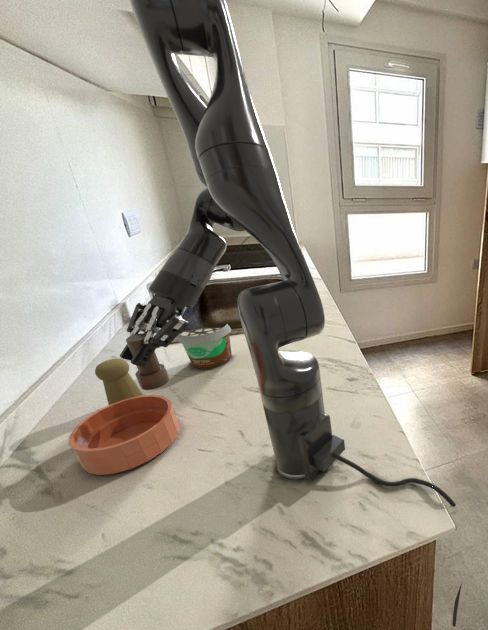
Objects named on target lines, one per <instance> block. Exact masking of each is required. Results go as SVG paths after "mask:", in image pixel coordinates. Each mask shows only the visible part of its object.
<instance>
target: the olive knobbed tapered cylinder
mask: <svg viewBox="0 0 488 630" xmlns="http://www.w3.org/2000/svg"><path fill="white" fill-rule="evenodd" d="M129 372H130V364H129V362H128V361H127V360H126V359H123V358H121V357H118V358H117V357H116V358H110V359H107V360H104V361H102V362H100V363H99V364H97V365H96V366H95V370H94V374H95V376H96V377H97V379H98V380H101V381H102V384H103V387H104V392H105V396H106V400H107V404H108V405H111V404H113V403H116V402H119V401H121V400H124V399H127V398H132V397H137V396H141V395H144V394H143V392H142V390H141V388H139V386H138V385H137V384H136V382H135V380H134V379H133V377H132V376H131V374H130V373H129Z"/></svg>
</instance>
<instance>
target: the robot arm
mask: <svg viewBox="0 0 488 630" xmlns="http://www.w3.org/2000/svg"><path fill="white" fill-rule="evenodd" d="M129 3H130V6H131V9H132V12H133V15H134V18H135V20H136V23H137V26H138V28H139V32H140V34H141V36H142V39H143V42H144V44H145V47H146V49H147V51H148V54H149V56H150V58H151V61H152V64H153V66H154V68H155V71H156V73H157V75H158V78H159V80H160V83H161V85H162V87H163V90H164V93H165V94H166V97H167V99H168V101H169V103H170V106H171V109H172V110H173V112H174V115H175V117H176V119H177V121H178V124H179V126H180V128H181V131H182V133H183V137H184V139H185V141H186V144H187V149H188V151H189V155H190V159H191V161H192V165H193V168H194V171H195V174H196V177H197V179H198V181H199V182H200V183H201V184H202V185H203V186H205V188H204V189H202V190H201V191H200V192H199V193H198V195H197V196H196V199H195V202H194V205H193V210H192V214H191V218H190V222H189V224H188V228H187V231H186V233H185V235H184V236H183V238H182V239H181V241H180V242H179V244H178V245H177V247H176V248H175V250H174V251H173V252H172V253H171V254H170V255H169V257H168V258H167V259H166V261H165V263H164V264H163V265H162V267H161V269H160V270H159V272H158V273H157V274H156V276H155V278H154V279H153V281H152V282H151V284H150V285H149V287H148V291H149V292H150V293H152V294H154V296H153V297H152V298H151V299H150V300H149V301H148V302H147V303H146V304H144V303H142V302H137V303H136V305H135V306H134V310H133V312H132V315H131V317H130V320H129V323H128V325H127V328H126V332H127V333H129V337H130V336H132V335H135V334H140V333H147V335H146V337H145V339H144V341H143V344H141V345H140V347H139V348H138V350H137V351H136V353H135V355H134V356H133V357H132V354H131V352H130V349H129V347H128V344H127V343H126V344H125V346H124V347H123V349H122V351H121V353H120V354H119V358H121V359H124V360H126V361H129V362H130V364H132V365H134V366H136V365H137V366H141V367H144V366H145V365H146V364H147V363H148V361H149V359H150V358H151V356H152V354H153V353H154V351H155V352H156V349H159V348H161V347H163V348H167V347H168V346H170V345H171V343H172V342H173V341H174V340H175V339H177V336H178V335H179V334H180V333H181V332H182V331H185V329H186V328H187V327H188V325H189V321H187V320H185V319H183V317H182V316H183V315H184V311H185V308H188V309H192V308H194V307H195V305H196V303H197V301H199V298H200V297H201V295H202V293H203V292H204V290H205V289H206V286H207V285H208V283H209V281H210V280H211V278H212V275H213V273H214V271H215V269H216V267H217V265H218V264H219V262H220V260H221V259H222V257H223V255H224V254H225V252H226V250H227V246H228V245H227V242H226V240H225V239H224V237H222V236H220V235H219V234H218V233H216V232H215V230H214V229H215V225H216V224H218V225H220V226H222V227H225V228H228V229H230V230H232V231H236V232H246V233H247V234H249V236H250V237H252V238H253V239H254V240H255V241H256V242H257V243H258V244H259V245H260V246H261V247H262V248H263V249H264V251H265V252H266V253H267V254H268V255H269V257H270V258H271V260H272V261H273V263H274V265H275V267H276V269H277V270H278V272H279V274H280V277H281V279H282V280H280V281H276V282H271V283H266V284H261V285H256V286H252V287H249V288H244V289H243V290H241V291H240V292H239V294H238V297H237V300H236V301H237V304H236V305H237V312H238V318H239V321H240V325H241V327H242V331H243V334H244V337H245V340H246V343H247V347H248V351H249V354H250V358H251V362H252V367H253V370H254V374H255V376H256V381H257V386H258V390H259V394H260V398H261V402H262V407H263V411H264V417H265V420H266V421H265V422H266V426H267V429H268V433H269V438H270V442H271V447H272V451H273V455H274V461H275V466H276V470H277V472H278V474H279V475H280V476H282V477H284V478H285V479H289V480H303V479H307V480H308V481H312V480H313V479H314V478H315V477H316V476H317V475H318V474H319V473H320V472H321V471H322V472H323V473H324V472H326V471H327V469H328V468H329V467H330V466H331V465H332V464H333V463H334V462H335V461H336V460H337V461H340V462H341V463H343V464H345V465H347V466H349V467H351V468H353V469H354V470H355V471H356V472H357V471H358V472H359V473H360V474H362V475H363V476H364V477H366V478H368V479H369V480H372V481H373V482H375V483H377V484H379V485H381V486H385V487H389V488H390V487H400V486H402V485H406V484H412V483H414V484H418V485H422V486H425V487H428V488H430V489H431V490H433V489H434V490H433V491H435V492H436V493H438V494H439V495H440V496H441V497H442V498H443V499H444V500H445V501H446V502H447V503H448V504H449V506H451V507H453V508H455V507H457V504H456V502H455V501H454V500H453V499H452V498H451V497H450V496H449V495H448V494H447V493H446V492H445V491H444V490H443V489H442V488H441V487H439V486H438V485H435V484H434V483H432V482H430V481H428V480H424V479H420V478H416V477H415V478H414V477H409V478H404V479H401V480H397V481H387V480H383V479H381V478H379V477H377V476H376V475H374V474H372V473H370V472H369V471H367V470H366V469H364V468H362V467H361V466H360V465H358V464H356V463H355V462H353V461H351V460H349V459H347V458H345V457H343V456H341V455H342V453H343V452H344V451H345V450H346V445H345V439H344V438H341V437H339V436H337V435H335V434H333V431H332V430H333V429H332V423H331V417H330V415H329V414H328V413H326V410H325V409H326V408H325V401H324V396H323V395H324V394H323V387H322V386H323V385H322V378H321V370H320V363H319V361H318V359H317V357H315V355H313V354H311V353H309V352H307V351H303V350H297V349H296V350H295V349H294V350H293V349H291V350H289V349H288V350H286V349H280V348H284V347H286V346H290V345H292V344H295V343H299V342H302V341H304V340H306V339H310V338H312V337H315V336H318V335H320V334H321V333H323V330H324V328H325V325H326V317H325V310H324V309H325V308H324V306H323V302H322V299H321V296H320V292H319V290H318V288H317V285H316V282H315V280H314V278H313V275H312V273H311V270H310V268H309V265H308V262H307V260H306V258H305V256H304V253H303V251H302V248H301V246H300V243H299V240H298V237H297V235H296V232H295V230H294V227H293V224H292V221H291V217H290V214H289V210H288V208H287V204H286V201H285V198H284V197H285V196H284V194H283V191H282V187H281V183H280V180H279V176H278V172H277V169H276V166H275V163H274V159H273V156H272V154H271V150H270V147H269V145H268V143H267V140H266V139H267V138H266V137H265V133H264V130H263V128H262V125H261V123H260V119H259V116H258V113H257V110H256V107H255V105H254V101H253V98H252V95H251V91H250V87H249V84H248V82H247V77H246V76H247V75H246V72H245V69H244V65H243V61H242V56H241V53H240V49H239V46H238V41H237V38H236V37H237V36H236V32H235V29H234V25H233V21H232V18H231V14H230V11H229V7H228V4H227V1H226V0H129ZM176 55H181V56H182V55H184V56H195V57H208V58H213V59H214V61H215V62H216V70H215V78H214V83H213V86H212V87H213V88H212V91H211V94H210V97H209V100H208V102H207V104H206V103H205V102H204V101H203V100H202V98H200V96H199V95H198V94H197V92H196V91H195V90H194V89H193V88H192V86H191V85H190V83H189V81H188V80H187V78H186V77H185V75H184V73H183V71H182V69H181V67H180V65H179V62H178V60H177V59H178V58H177V56H176ZM137 366H136V367H137ZM432 486H433V487H432ZM462 585H463V582H461V583H460V586H459V589H458V590H457V594H456V597H455V600H454V605H453V606H454V607H453V611H452V612H453V613H452V624H451V625H452V627H453V628H456V626H457V616H458V608H459V602H460V596H461V589H462Z"/></svg>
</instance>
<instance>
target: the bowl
mask: <svg viewBox="0 0 488 630" xmlns="http://www.w3.org/2000/svg"><path fill="white" fill-rule="evenodd" d="M180 429H181V425H180V422H179V419H178V417H177V414H176V412H175V409H174V406H173V404H172V401H171V399H169V398H167V397H166V396H164V395H159V394H143V395H141V396H137V397H132V398H127V399H124V400H121V401H119V402H116V403H113V404H111V405H109V404H108V405H107V406H104V407H102V408H99V409H98V410H96V411H95V412H93V413H91V414H90V415H88V416H86V417H85V418H83V419H82V421H81V422H79V423H78V424H77V425H76V426H75V427H74V428H73V430H72V431H71V433H70V434H69V436H68V446H69V447H70V449H71V450H72V453H73V454H74V456H75V458H76V459H77V461H78V463H79V464H80V466H81V468H82V469H83V470H84V471H85V472H86V473H88V474H92V475H97V476H103V475H115V474H118V473H122V472H125V471H130V470H131V469H134V468H136V467H138V466H141V465H143V464H145V463H147V462H149V461H151V460H152V459H153V458H155V457H158V455H160V454H161V453H163V452H164V451H165V450H166V449H167V448H168V447H170V446H171V445H172V444H173V443H174V441H175V440H176V438H177V437H178V435H179V433H180Z"/></svg>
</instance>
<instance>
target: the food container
mask: <svg viewBox="0 0 488 630" xmlns="http://www.w3.org/2000/svg"><path fill="white" fill-rule="evenodd" d="M231 332H232V328H231V327H230V325H229V324H228V323H226V324H225V326H222V327H201V328H195V329H189V330H183V331H182V332H181V333H180V334H179V335H178V336H177V337H176V342H178V343H179V344H181V345H182V346H183V348H184V350H185V353H186V354H187V357H188V359H189V361H190V363H191V365H192V367H193V368H195V369H197V370H209V369H214V368H218V367H220V366H222V365H225V364H226V363H227V362H229V361H230V360H231V359H232V358H233V354H232V345H231V338H230V333H231Z"/></svg>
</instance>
